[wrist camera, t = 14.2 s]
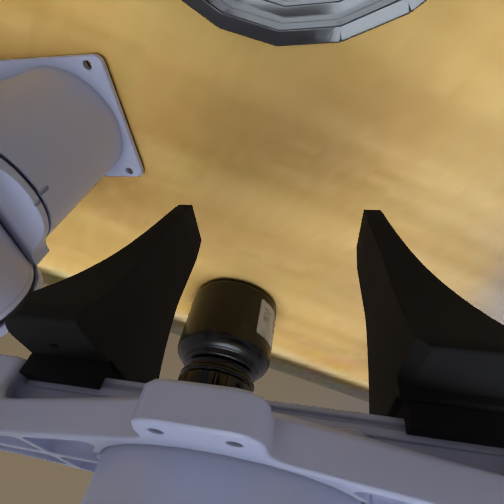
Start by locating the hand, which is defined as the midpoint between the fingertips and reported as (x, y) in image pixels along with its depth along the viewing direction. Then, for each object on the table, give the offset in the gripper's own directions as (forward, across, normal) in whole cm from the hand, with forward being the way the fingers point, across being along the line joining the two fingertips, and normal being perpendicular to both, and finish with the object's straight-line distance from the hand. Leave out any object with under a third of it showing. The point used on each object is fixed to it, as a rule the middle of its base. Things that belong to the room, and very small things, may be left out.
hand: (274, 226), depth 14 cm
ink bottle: (+10, +6, +19) cm, 22 cm away
